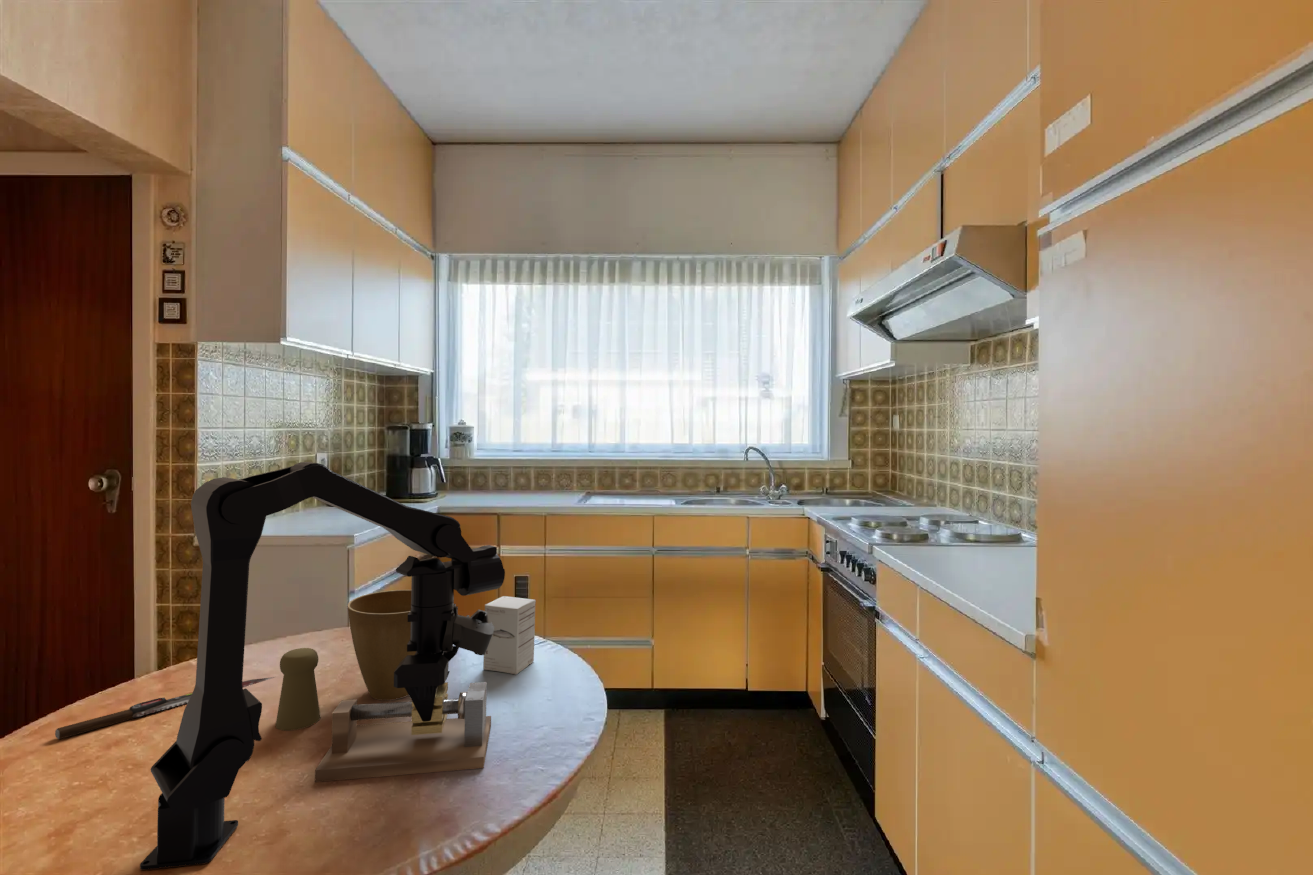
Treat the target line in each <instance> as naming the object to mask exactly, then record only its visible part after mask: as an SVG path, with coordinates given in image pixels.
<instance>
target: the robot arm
mask: <svg viewBox="0 0 1313 875" xmlns="http://www.w3.org/2000/svg"><path fill="white" fill-rule="evenodd" d="M311 498H313V499H314V500H317V501H320V502H322V503H325V504H326V505H329V506H331V507H334V508H336V509H338V510H341V511H343V512H345V513H348V514H350V515H352V516H355V517H357V518H360V519H361V520H364V521H366V522H369V523H371V524H374V525H376V526H379V527H381V528H382V529H384V530H385V531H387V532H388V533H390V534H391V535H392V536H393V537H394V538H395V539H397V540H398V541H399V542H401V543H402V544H404V545H405V546H407V547H408V548H409V549H411V550H413V551H416V552H418V553H421V554H427V555H428V556H433V557H431V558H425V559H419V558H418V557H416V556H413V555H408V556H407V558H406V559H405V560H404V561H403V562H402V563H401V564H399V565H398V566H397V567H396V568H395V573H397V574H399V575H402V576H404V577H405V576H406V577H409V578H411V581H410V582H411V589H410V590H411V611H410V612H409V614H408V622H411V636H410V641H409V642H408V644H407V652H412V651H416V653H415V655H407V656H406V657H405V658H404V659H403V660H402V661H401V662H400V663H399V665H398V667H397V668H396V670H395V671H394V687H396V688H405V689H406V691H407V693H408V696H409V698H410V700H411V701H412V702H413V704H414V706H415V708H416V710H417V712H418V713H419V715H420V717H421V719H422V721H423V722H426V721H430V720H431V718H432V713H433V708H434V703H435V698H436V693H437V688H438V686H440V685H443V684H444V683H445V682H447V680H448V677H449V674H450V671H449V662H451V660H453V658H454V657H455V656H456V655H457V654H458V651H459V649H463V650H467V651H468V652H469V651H470V652H472V653H474V655H478V656H484V655H485V653H486V650H487V648H488V645H489V643H490V640H491V638H492V635H493V632H494V626H493V625H492V624H493V623H491V622H490V624H489V621H488V612H486V611H485V610H483V609H477V610H476V611H475V612H474V613H472V615H471V616H470V615H468V614H467V615H466V616H464V615H460V614H459V613H458V612H459V610H458V609H459V606H456V605H457V604H456V603H454V601H455V597H454V596H455V591H456V592H457V593H458V595H460V596H463V597H464V596H465V597H466V596H471V595H474V594H479V593H483V592H489V591H493V590H498V589H500V588H501V587H502V586H503V584H504V582H505V579H506V578H505V577H506V569H505V568H504V564H503V562H502V560H501V557H500V556H499V555H498V550H497V549H498V547H497V546H495V545H490V544H488V545H482V546H479V547H475V548H471V546H470V545H469V543H468V542H467V541H466V540H465V538H464V536H462V529H461V524H460V522H459V521H458V520H457V519H456V518H454V517H452V516H448V515H444V514H441V513H437V512H433V511H432V512H431V511H429V510H424V509H420V508H416V507H411V506H408V505H406V504H403V503H402V502H399V501H397V500H395V499H394V498H393V499H392V498H390V497H388V496H387V495H384V494H381V493H379V492H378V491H375V490H373V489H372V488H369V487H367V486H365V485H362V483H361V484H360V483H358V482H357V481H353V480H352V479H350V478H348V477H346V476H343V475H342V474H339V473H337V472H334V471H333V470H331V469H330V468H328V466H326V465H324V464H321V463H318V462H309V461H302V462H301V461H300V462H298V463H294V464H293V465H291V466H288V467H284V468H281V469H276V470H270V471H267V472H263V473H258V474H255V475H250V476H247V477H243V478H240V479H238V478H232V477H227V476H225V477H218V478H217V477H216V478H212V479H209V480H208V481H207V480H206V481H205V482H204V483H203V484H202V485H200V486H199V487H198V488H197V489H195V491H194V493H193V495H192V498H191V502H190V507H191V508H190V509H191V514H192V520H193V527H194V533H195V537H196V541H197V543H198V548H199V550H200V554H201V557H202V572H201V573H202V574H201V575H202V576H201V590H200V591H201V592H200V606H199V607H200V609H199V620H198V621H199V623H198V642H197V653H196V654H197V655H196V656H197V657H196V670H195V671H196V672H195V684H194V688H193V691H192V692H191V693H192V695H191V697H190V699H189V701H188V703H186V706H185V708H184V709H183V713H182V716H181V717H182V718H181V721H180V725H179V728H178V733H177V736H176V741H174V742H173V743H172V744H171V746H170V747H169V748H168V749H167V750H166V751H165V752H164V753H163V754H162V755H161V756H160V757H159V759H158V760H156V761H155V763H154V764H153V765H152V766H150V769H149V771H150V773H151V774H152V776H153V778H154V780H155V782H156V784H157V786H158V787H159V789H160V791H161V793H160V795H159V797H158V802H157V826H156V827H157V830H156V831H157V833H156V834H157V835H156V838H157V842H156V846H155V847H154V848H153V849H152V851H150V853H149V854H148V855H146V857H145V858H144V859H143V860H142V861H141V862H140V863H139V870H141V871H146V870H155V869H156V870H157V869H165V868H173V867H174V868H176V867H184V866H194V865H204V864H207V863H209V862H211V861H212V860H213V859H214V858H215V856H216V855H217V853H218V852H219V850H221V848H222V847H223V845H225V843H226V842H227V840H228V839H229V838H230V837H231V836H232V834H233V833H234V832H235V830H236V829H237V828H238V826H239V820H238V819H233V820H231V819H230V820H225V803H226V802H225V799H226V798H227V797H229V796H230V795H231V794H230V793H231V791H232V788H233V786H234V783H235V780H236V778H237V775H238V773H239V770H240V769H241V768H243V766H245V765H244V764H246V762H248V761H250V759H251V757H252V755H253V753H254V748H255V741H257V742H261V740H262V738H263V737H262V736H261V734H260V728H259V725H260V719H261V716H262V712H263V711H262V710H263V709H262V708H263V703H262V702H261V701H260V700H259V699H258V698H257V697H256V696H255V695H254V694H253V693H252V692H250V691H249V690H248V689H247V688H246V687H243V686H242V682H243V677H244V675H243V674H244V663H245V662H244V658H245V642H246V629H247V628H246V626H247V611H248V610H247V607H248V593H249V576H250V562H251V558H252V556H253V554H254V551H255V550H256V548H257V546H258V543H259V542H260V540H261V537H262V533H263V531H264V527H265V523H266V520H267V519H266V518H267V516H270V515H273V514H276V513H279V512H282V511H285V510H287V509H288V508H291V507H293V506H295V505H297V504H299V503H301V502H303V501H304V500H307V499H311ZM439 558H448V559H450V560H449V561H443V562H442V560H441V559H439Z"/></svg>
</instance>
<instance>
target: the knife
mask: <svg viewBox="0 0 1313 875" xmlns="http://www.w3.org/2000/svg"><path fill="white" fill-rule="evenodd" d="M274 678H275V676H273V677H264V678H253V679H248V680H244V681H243V680H242V686H243V688H246V687H249V685H250V686H253V685H255V684H259V683H261V682H265V681H268V680H271V679H274ZM192 693H193V692H191V693H187V694H182V695H179V696H175V697H173V698H168V699H167V698H165V697H158V698H154V699H149V700H147V701H143V702H138V703H137V704H134V705H131V706H130V707H129V708H128V709H126V710H122V711H117V712H113V713H110V714H106V715H103V716H99V717H95V718H92V719H88V720H84V721H80V722H77V723H72V724H69V725H68V724H67V725H65V726H62V727H57V728H56V729H55V733H54V734H55V736H54V737H55V738H56V739H57V740H61V739H65V738H68V737H72V736H75V735H79V734H82V733H86V732H90V731H93V730H97V729H101V728H105V727H108V726H112V725H115V724H116V725H117V724H119V723H122V722H126V721H130V720H133V719H136V718H140V717H143V716H145V715H149V714H153V713H157V712H160V711H163V710H164V711H165V710H167V709H171V708H174V707H175V708H176V707H177V706H178V707H179V706H181V705H185V704H186V705H187V703H188V701H189V699H190V697H191V695H192Z"/></svg>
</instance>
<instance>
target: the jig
mask: <svg viewBox="0 0 1313 875" xmlns="http://www.w3.org/2000/svg"><path fill="white" fill-rule="evenodd" d="M353 705H358V699H343V700H342V699H341V701H340V702H339V703H338V705H337V706H336V708H335V709H334V710H333V712H332V713H331V746H330V747H329V749H328V750H327V752H326V754H325V755H324V757H323V758H322V760H321V761H320V762H319V764H318V765H317V767H316V769H315V770H314V782H315V783H318V782H320V783H321V782H329V781H330V782H331V781H342V780H353V779H354V780H356V779H367V778H368V779H369V778H380V777H389V776H390V777H391V776H401V775H402V776H404V775H414V774H415V775H416V774H429V773H438V772H439V773H440V772H450V771H452V772H453V771H461V770H462V771H463V770H475V769H484V768H485V762H486V756H487V750H488V746H489V745H488V744H489V739H490V732H491V728H492V716H491V715H486V728H485V734H484V739H483V744H482V746H473V747H464V736H465V719H461V720H458V717H455V718H454V717H453V718H447V719H446V722H445V725H444V728H443V731H442V733H432V734H418V735H411V727H412V725H413V723H412V720H410V721H396V722H379V723H367V724H365V723H364V724H358V723H357V721H358V720H354V721H351V719H350V714H351V708H352V706H353Z"/></svg>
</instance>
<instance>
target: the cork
mask: <svg viewBox="0 0 1313 875" xmlns="http://www.w3.org/2000/svg"><path fill="white" fill-rule="evenodd" d="M318 663H319V655H318V652H317V651H316V649H314V648H309V647H301V648H295V649H291V650H288V651H286V652H284V653H283V655H282V656H281V658H280V661H279V669H280V672H281V673H282V674H283V678H282V684H281V690H280V695H279V702H278V709H277V713H276V714H277V715H276V720H275V728H276V729H277V730H281V731H296V730H301V729H305V728H307V727H308V728H309V727H311V726H314V723H315V724H316V723H317V722H319V721H320V720H321V711H320V703H319V696H318V688H317V681H316V674H315V669H316V668H317V666H318Z"/></svg>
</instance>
